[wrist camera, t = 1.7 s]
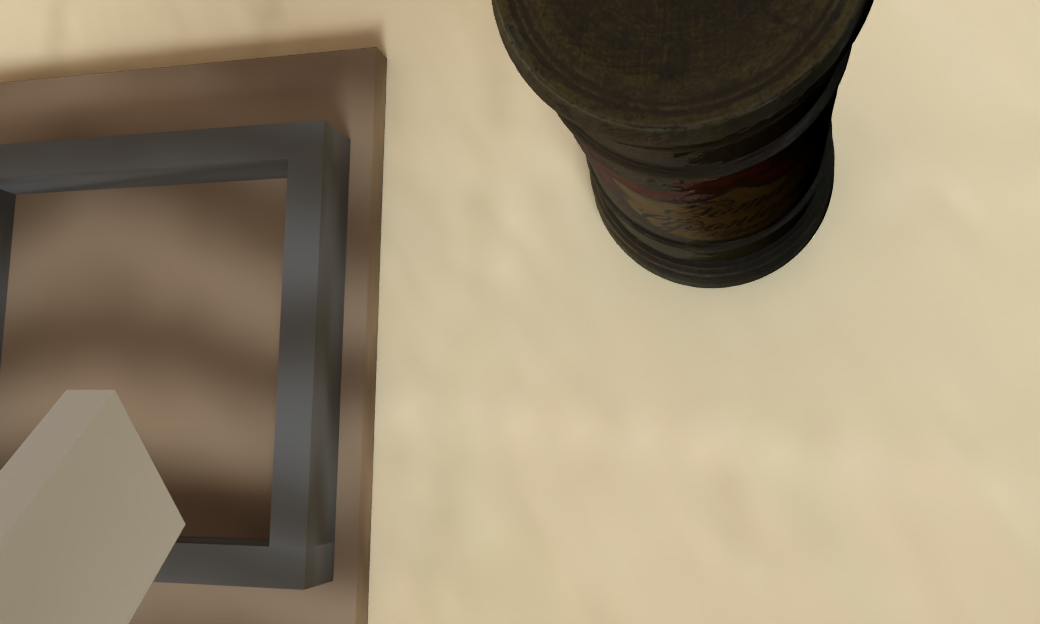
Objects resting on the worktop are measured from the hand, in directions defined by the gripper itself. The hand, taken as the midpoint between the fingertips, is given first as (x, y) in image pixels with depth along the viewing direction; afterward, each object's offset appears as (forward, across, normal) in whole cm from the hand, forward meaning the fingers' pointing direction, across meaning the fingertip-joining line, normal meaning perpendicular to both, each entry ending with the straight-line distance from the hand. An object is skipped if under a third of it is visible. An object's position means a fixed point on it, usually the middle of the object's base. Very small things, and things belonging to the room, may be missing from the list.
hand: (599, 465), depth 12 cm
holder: (+20, -23, -15) cm, 34 cm away
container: (+25, +1, -10) cm, 27 cm away
